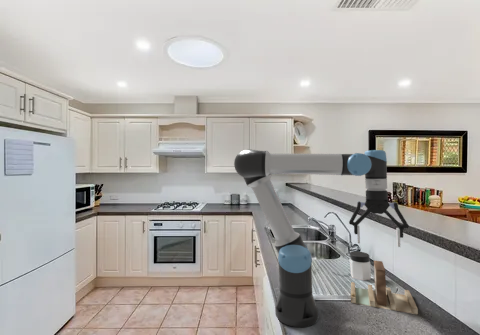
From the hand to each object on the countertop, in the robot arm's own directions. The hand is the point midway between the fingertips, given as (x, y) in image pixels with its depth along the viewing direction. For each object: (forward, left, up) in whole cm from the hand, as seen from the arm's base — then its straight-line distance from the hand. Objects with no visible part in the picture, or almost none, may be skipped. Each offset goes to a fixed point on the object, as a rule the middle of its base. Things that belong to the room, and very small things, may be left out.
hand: (378, 244), depth 96 cm
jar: (-6, +20, -23) cm, 31 cm away
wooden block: (0, 0, -21) cm, 21 cm away
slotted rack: (0, 0, -23) cm, 23 cm away
